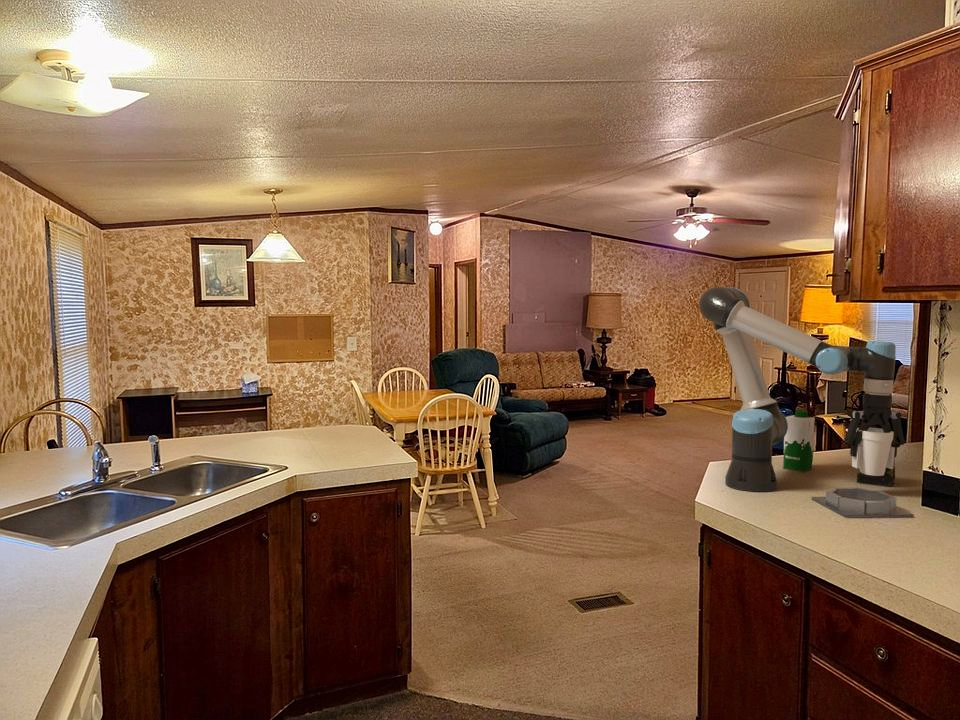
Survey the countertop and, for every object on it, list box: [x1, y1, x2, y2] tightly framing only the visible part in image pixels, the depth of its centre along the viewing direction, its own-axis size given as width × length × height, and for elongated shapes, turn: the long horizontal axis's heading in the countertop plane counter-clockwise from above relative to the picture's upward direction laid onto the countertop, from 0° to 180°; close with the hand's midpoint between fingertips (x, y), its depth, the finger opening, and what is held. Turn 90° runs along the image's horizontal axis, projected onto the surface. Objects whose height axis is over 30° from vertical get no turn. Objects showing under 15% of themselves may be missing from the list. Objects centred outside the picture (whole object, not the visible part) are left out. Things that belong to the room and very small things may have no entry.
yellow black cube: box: [856, 457, 896, 488], centre depth 217 cm, size 10×10×10 cm
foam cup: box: [857, 427, 894, 476], centre depth 203 cm, size 10×9×13 cm
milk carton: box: [782, 409, 816, 473], centre depth 235 cm, size 9×9×20 cm
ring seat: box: [811, 486, 915, 519], centre depth 188 cm, size 18×18×4 cm
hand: (872, 467), depth 203 cm, fingers closed on foam cup, 9 cm apart
